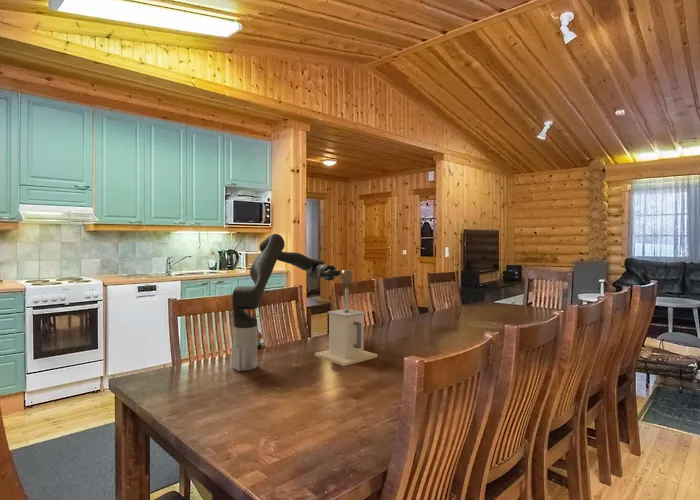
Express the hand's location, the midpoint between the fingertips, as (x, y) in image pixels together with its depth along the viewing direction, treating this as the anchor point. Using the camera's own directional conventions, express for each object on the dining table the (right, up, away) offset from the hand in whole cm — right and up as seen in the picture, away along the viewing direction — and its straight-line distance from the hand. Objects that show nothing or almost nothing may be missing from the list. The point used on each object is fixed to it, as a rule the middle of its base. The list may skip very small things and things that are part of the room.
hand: (338, 275), depth 206 cm
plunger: (+4, -21, -8) cm, 23 cm away
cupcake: (-42, -35, +9) cm, 55 cm away
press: (+4, -36, -8) cm, 37 cm away
